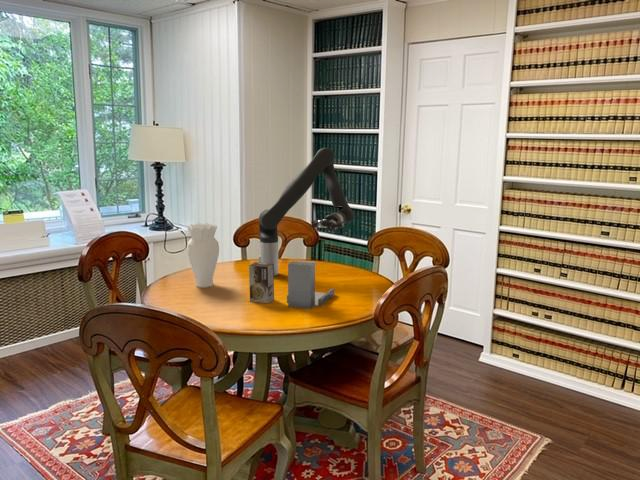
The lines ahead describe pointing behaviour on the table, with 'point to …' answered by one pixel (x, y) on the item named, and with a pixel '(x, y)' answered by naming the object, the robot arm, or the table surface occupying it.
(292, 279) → the grey metal bracket
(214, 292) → the table surface
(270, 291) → the coffee box
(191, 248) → the vase
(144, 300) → the table surface
